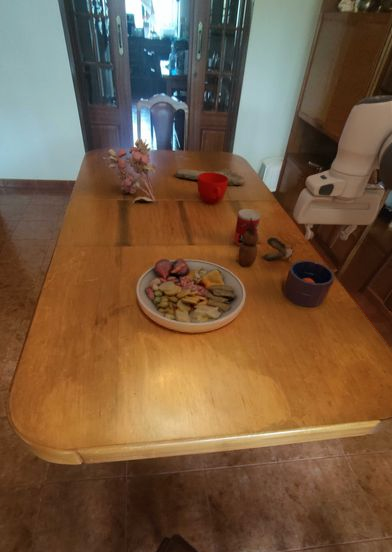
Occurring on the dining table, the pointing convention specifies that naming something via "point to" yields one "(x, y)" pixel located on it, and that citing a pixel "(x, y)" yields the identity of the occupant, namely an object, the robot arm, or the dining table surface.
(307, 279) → the ball
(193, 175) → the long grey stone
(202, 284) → the bowl
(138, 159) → the flower
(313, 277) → the pot
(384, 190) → the robot arm
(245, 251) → the wooden figurine
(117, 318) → the dining table surface
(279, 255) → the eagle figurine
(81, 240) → the dining table surface
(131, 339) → the dining table surface
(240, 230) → the canned food
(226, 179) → the ceramic cup
